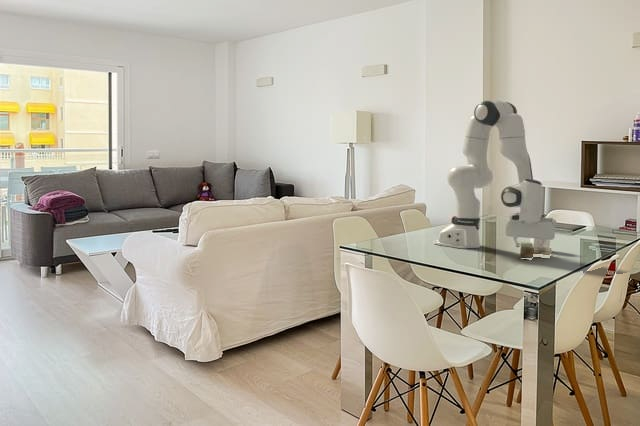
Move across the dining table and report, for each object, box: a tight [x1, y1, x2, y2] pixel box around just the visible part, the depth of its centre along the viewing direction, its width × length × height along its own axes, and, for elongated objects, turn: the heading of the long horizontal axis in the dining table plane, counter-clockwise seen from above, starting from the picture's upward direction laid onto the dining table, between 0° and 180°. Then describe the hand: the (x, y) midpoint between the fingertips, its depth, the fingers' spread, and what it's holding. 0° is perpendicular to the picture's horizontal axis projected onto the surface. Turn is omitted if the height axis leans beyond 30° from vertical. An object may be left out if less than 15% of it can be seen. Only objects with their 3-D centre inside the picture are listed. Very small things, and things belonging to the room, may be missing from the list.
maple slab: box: [532, 246, 553, 255], centre depth 250 cm, size 8×8×4 cm
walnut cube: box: [519, 247, 534, 259], centre depth 243 cm, size 5×5×5 cm
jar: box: [529, 238, 551, 248], centre depth 264 cm, size 9×8×12 cm
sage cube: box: [518, 241, 533, 252], centre depth 256 cm, size 5×5×5 cm
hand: (528, 248), depth 242 cm, fingers open, 8 cm apart
